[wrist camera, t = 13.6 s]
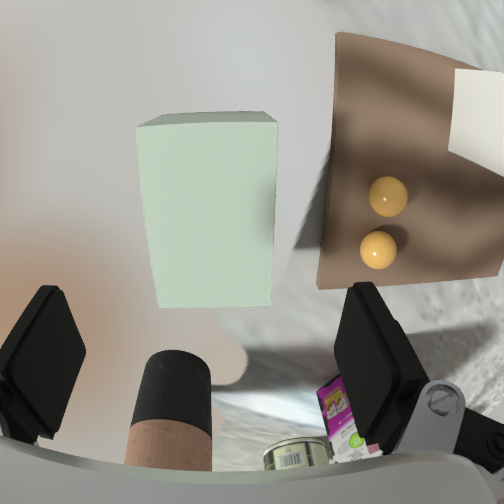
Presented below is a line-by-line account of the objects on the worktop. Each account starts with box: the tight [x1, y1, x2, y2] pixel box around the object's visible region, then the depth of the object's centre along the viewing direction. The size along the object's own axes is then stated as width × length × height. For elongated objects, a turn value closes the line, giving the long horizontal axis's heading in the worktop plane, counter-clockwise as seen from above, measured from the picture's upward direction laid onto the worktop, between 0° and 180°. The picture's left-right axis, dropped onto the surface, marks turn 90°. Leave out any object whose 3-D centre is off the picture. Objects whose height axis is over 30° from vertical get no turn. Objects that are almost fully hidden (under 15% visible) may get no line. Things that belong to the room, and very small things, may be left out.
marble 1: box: [368, 176, 408, 217], centre depth 22 cm, size 3×3×3 cm
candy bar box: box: [316, 375, 382, 463], centre depth 28 cm, size 11×5×16 cm, turn 140°
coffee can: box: [262, 438, 329, 471], centre depth 38 cm, size 10×10×14 cm
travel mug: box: [124, 350, 212, 472], centre depth 24 cm, size 8×8×20 cm
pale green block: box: [136, 111, 278, 308], centre depth 20 cm, size 11×7×7 cm, turn 179°
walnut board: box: [316, 32, 504, 290], centre depth 23 cm, size 20×22×1 cm
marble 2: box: [360, 231, 397, 269], centre depth 24 cm, size 3×3×3 cm
